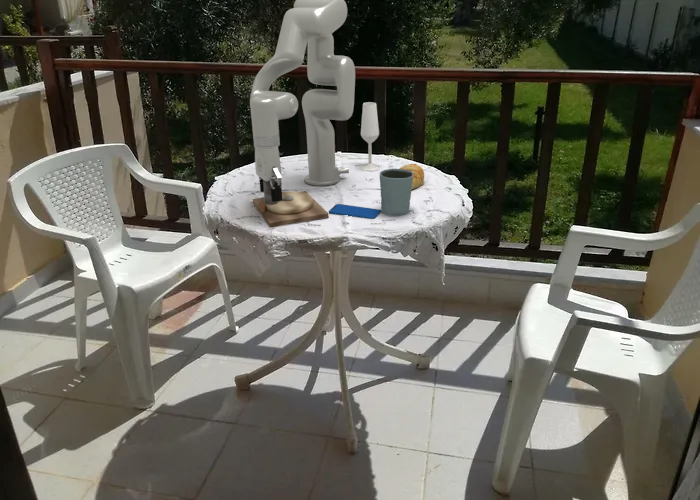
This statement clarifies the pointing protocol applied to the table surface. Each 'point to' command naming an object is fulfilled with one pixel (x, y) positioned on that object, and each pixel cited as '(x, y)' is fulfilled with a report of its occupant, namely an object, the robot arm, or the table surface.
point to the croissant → (415, 174)
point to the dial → (287, 201)
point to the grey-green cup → (395, 191)
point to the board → (286, 219)
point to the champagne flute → (369, 131)
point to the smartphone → (354, 211)
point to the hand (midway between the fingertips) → (271, 195)
